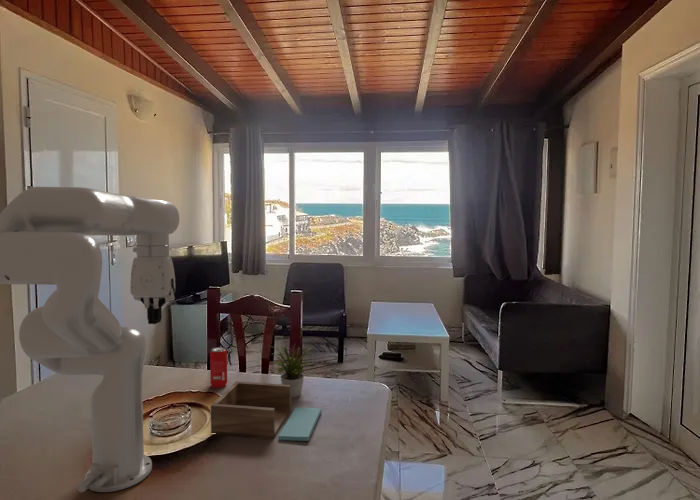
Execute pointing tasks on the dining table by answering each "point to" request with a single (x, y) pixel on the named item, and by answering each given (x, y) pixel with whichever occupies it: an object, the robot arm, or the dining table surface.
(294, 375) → the house plant
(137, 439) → the robot arm
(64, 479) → the dining table surface
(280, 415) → the crate
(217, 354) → the beverage can
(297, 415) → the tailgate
